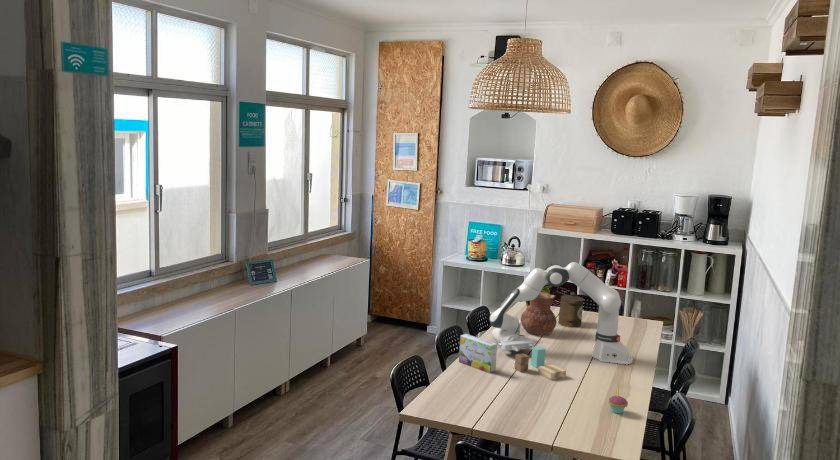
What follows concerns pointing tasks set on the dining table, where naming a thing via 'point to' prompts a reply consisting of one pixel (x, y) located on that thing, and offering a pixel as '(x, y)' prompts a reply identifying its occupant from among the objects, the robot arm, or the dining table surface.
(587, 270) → the robot arm
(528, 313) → the jug
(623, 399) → the cupcake
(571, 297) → the wooden container
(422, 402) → the dining table surface
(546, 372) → the oak base block
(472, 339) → the snack box
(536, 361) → the teal block
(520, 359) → the walnut block
